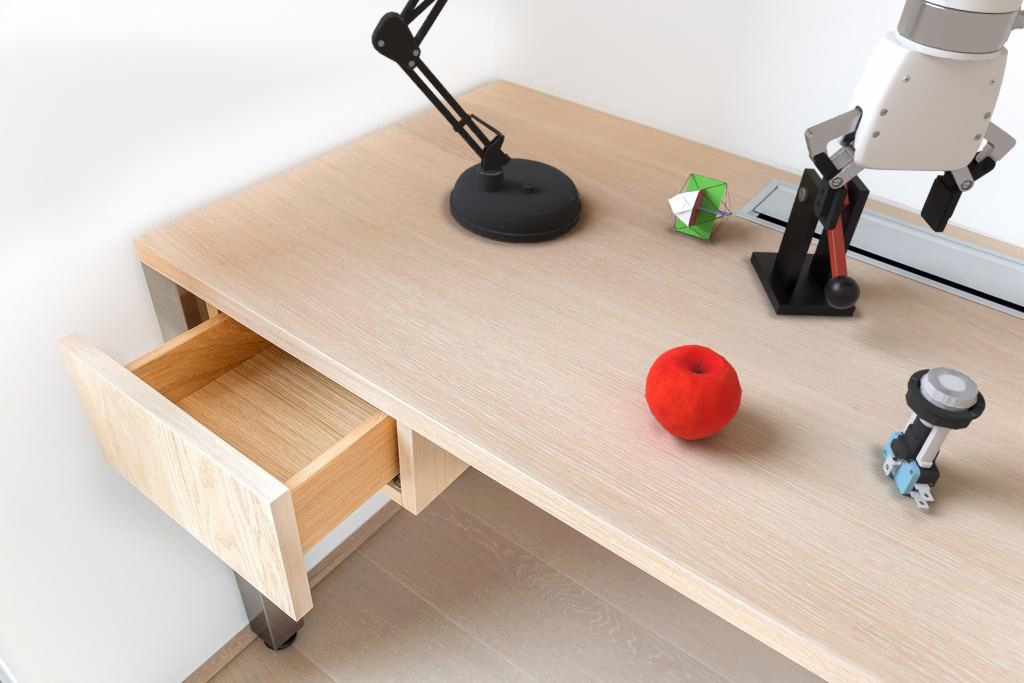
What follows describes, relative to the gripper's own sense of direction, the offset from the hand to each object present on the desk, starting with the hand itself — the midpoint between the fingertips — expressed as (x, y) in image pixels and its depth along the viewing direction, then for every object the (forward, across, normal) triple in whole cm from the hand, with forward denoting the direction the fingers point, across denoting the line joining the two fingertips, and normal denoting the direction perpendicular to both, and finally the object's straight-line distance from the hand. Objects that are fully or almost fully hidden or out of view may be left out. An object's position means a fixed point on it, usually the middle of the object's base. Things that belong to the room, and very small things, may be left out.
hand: (877, 223), depth 70 cm
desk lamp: (+13, +30, -24) cm, 40 cm away
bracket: (+13, +1, -9) cm, 16 cm away
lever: (+6, +1, -5) cm, 8 cm away
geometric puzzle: (+13, +10, -20) cm, 26 cm away
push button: (+13, +1, +18) cm, 23 cm away
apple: (+13, +18, +12) cm, 25 cm away
